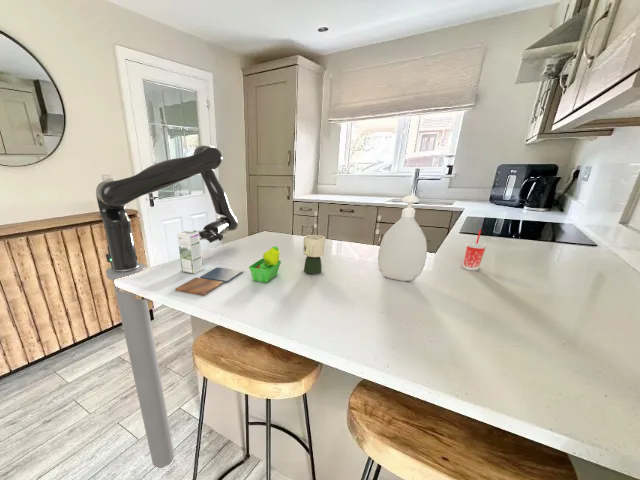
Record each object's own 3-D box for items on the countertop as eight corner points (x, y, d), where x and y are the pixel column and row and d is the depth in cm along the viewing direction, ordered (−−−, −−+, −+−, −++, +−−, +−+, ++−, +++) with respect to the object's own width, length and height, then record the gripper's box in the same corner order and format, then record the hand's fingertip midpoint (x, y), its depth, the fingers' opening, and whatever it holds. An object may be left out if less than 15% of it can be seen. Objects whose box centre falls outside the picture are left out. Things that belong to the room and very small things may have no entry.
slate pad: (200, 278, 108) (200, 276, 107) (217, 268, 117) (217, 267, 117) (227, 282, 103) (227, 281, 103) (242, 272, 112) (242, 271, 112)
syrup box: (203, 269, 116) (199, 231, 111) (193, 274, 112) (189, 234, 106) (191, 267, 119) (187, 230, 113) (181, 272, 114) (176, 233, 109)
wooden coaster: (175, 290, 98) (175, 288, 98) (196, 278, 107) (195, 277, 107) (204, 295, 94) (203, 293, 93) (223, 283, 103) (222, 281, 102)
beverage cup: (465, 264, 115) (475, 227, 109) (484, 268, 110) (494, 230, 105) (456, 267, 112) (466, 229, 107) (475, 272, 107) (485, 232, 102)
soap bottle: (424, 278, 103) (441, 194, 92) (419, 285, 97) (436, 197, 86) (379, 270, 111) (390, 192, 101) (372, 277, 105) (383, 195, 95)
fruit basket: (262, 271, 113) (262, 241, 109) (284, 274, 110) (285, 243, 105) (248, 281, 104) (247, 249, 99) (272, 285, 100) (272, 251, 96)
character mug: (306, 267, 116) (307, 233, 111) (325, 268, 114) (327, 234, 109) (299, 276, 107) (300, 240, 102) (319, 278, 105) (321, 241, 100)
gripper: (198, 221, 134) (181, 229, 120) (229, 222, 131) (216, 230, 117) (200, 238, 137) (184, 248, 123) (230, 239, 134) (217, 249, 119)
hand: (199, 239), depth 120 cm, fingers open, 8 cm apart
